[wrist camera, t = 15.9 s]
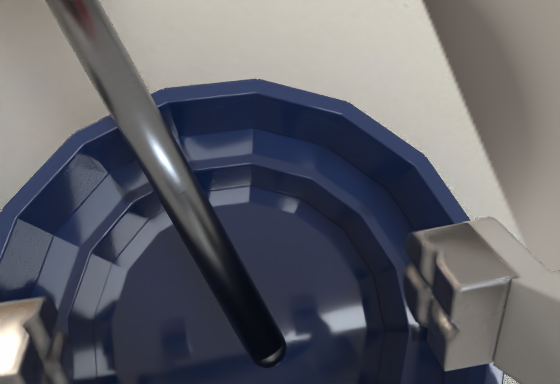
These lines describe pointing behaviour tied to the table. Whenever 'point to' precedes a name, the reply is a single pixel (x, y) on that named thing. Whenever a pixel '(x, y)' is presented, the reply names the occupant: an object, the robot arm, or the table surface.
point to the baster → (170, 175)
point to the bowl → (236, 244)
